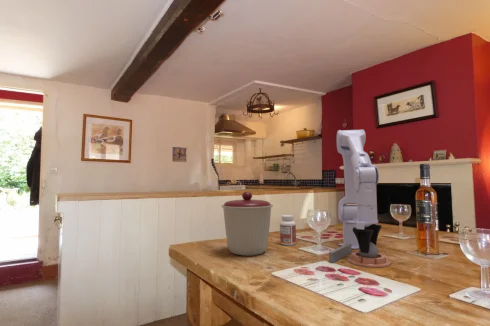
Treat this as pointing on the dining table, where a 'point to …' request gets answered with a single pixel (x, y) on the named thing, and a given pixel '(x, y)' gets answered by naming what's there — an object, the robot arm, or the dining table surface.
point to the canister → (247, 225)
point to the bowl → (369, 260)
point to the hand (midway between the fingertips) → (368, 250)
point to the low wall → (340, 253)
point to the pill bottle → (287, 230)
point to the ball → (370, 252)
